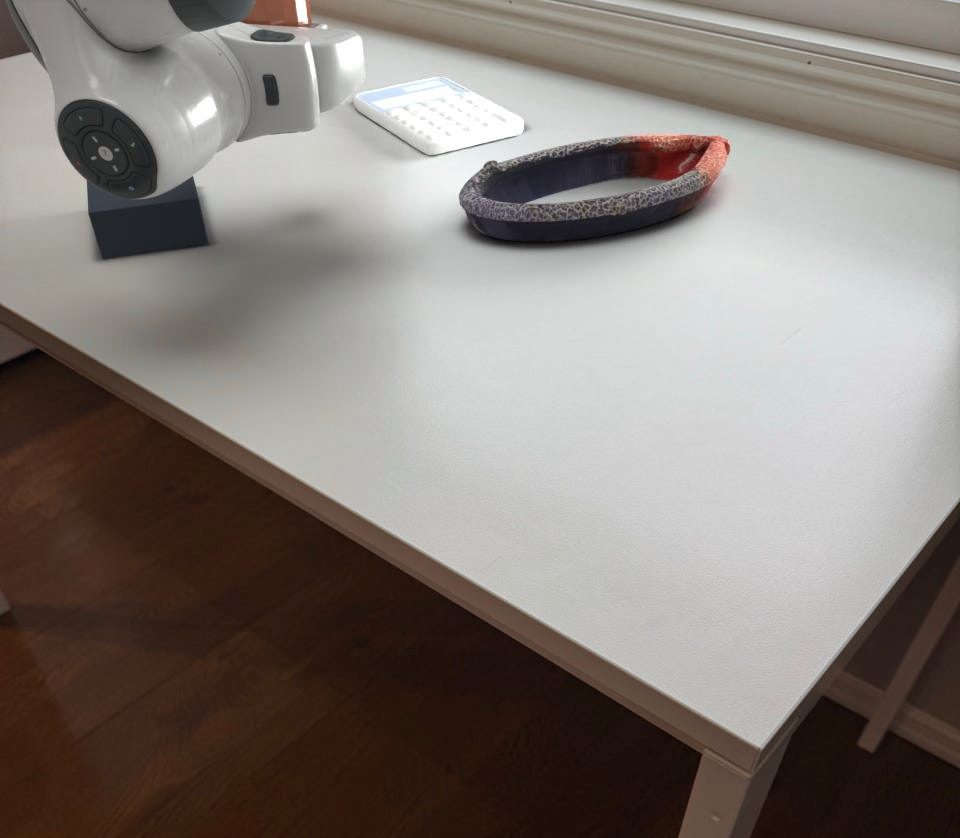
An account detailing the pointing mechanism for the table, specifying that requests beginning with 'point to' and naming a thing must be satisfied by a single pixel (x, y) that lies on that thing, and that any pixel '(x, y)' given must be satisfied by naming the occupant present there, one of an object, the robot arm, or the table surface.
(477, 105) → the calculator
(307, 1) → the terracotta cup
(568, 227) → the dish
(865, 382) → the table surface
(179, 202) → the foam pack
